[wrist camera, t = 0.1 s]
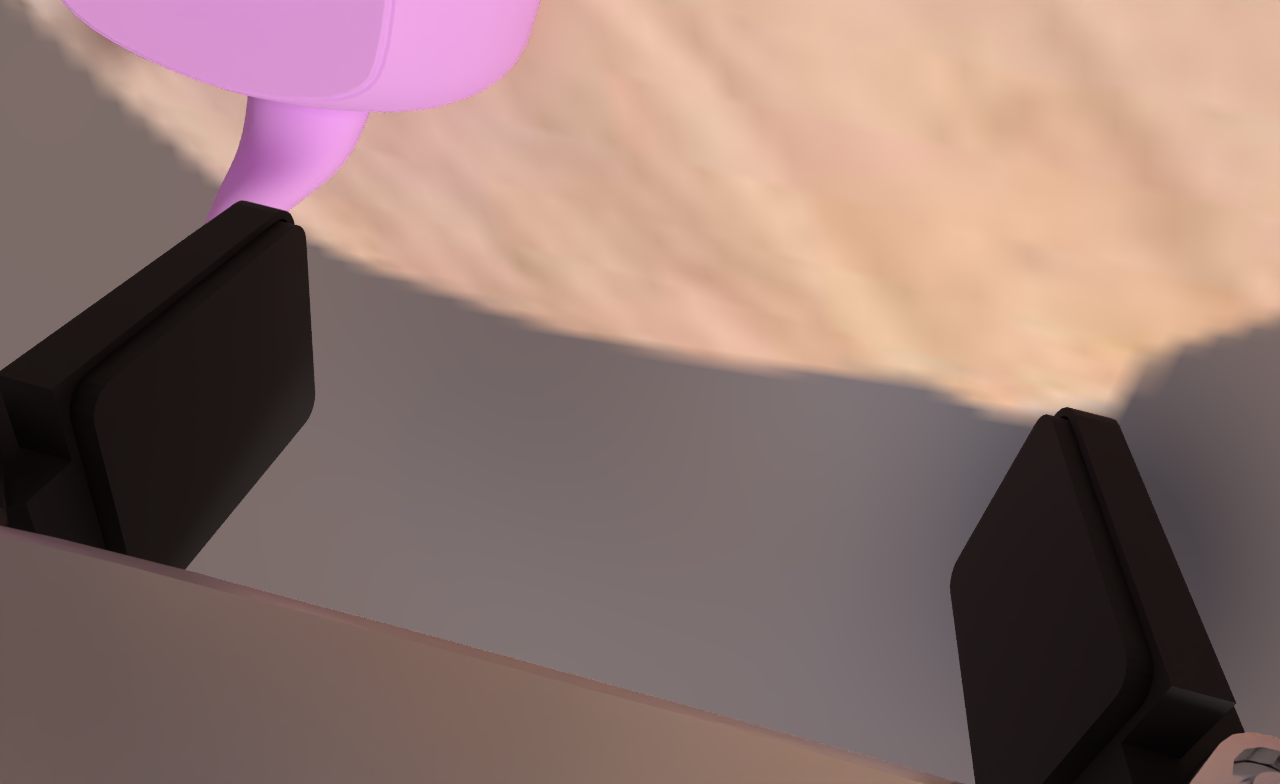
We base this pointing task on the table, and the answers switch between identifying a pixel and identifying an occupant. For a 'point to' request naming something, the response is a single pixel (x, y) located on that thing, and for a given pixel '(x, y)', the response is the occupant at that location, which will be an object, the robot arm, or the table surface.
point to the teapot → (317, 70)
